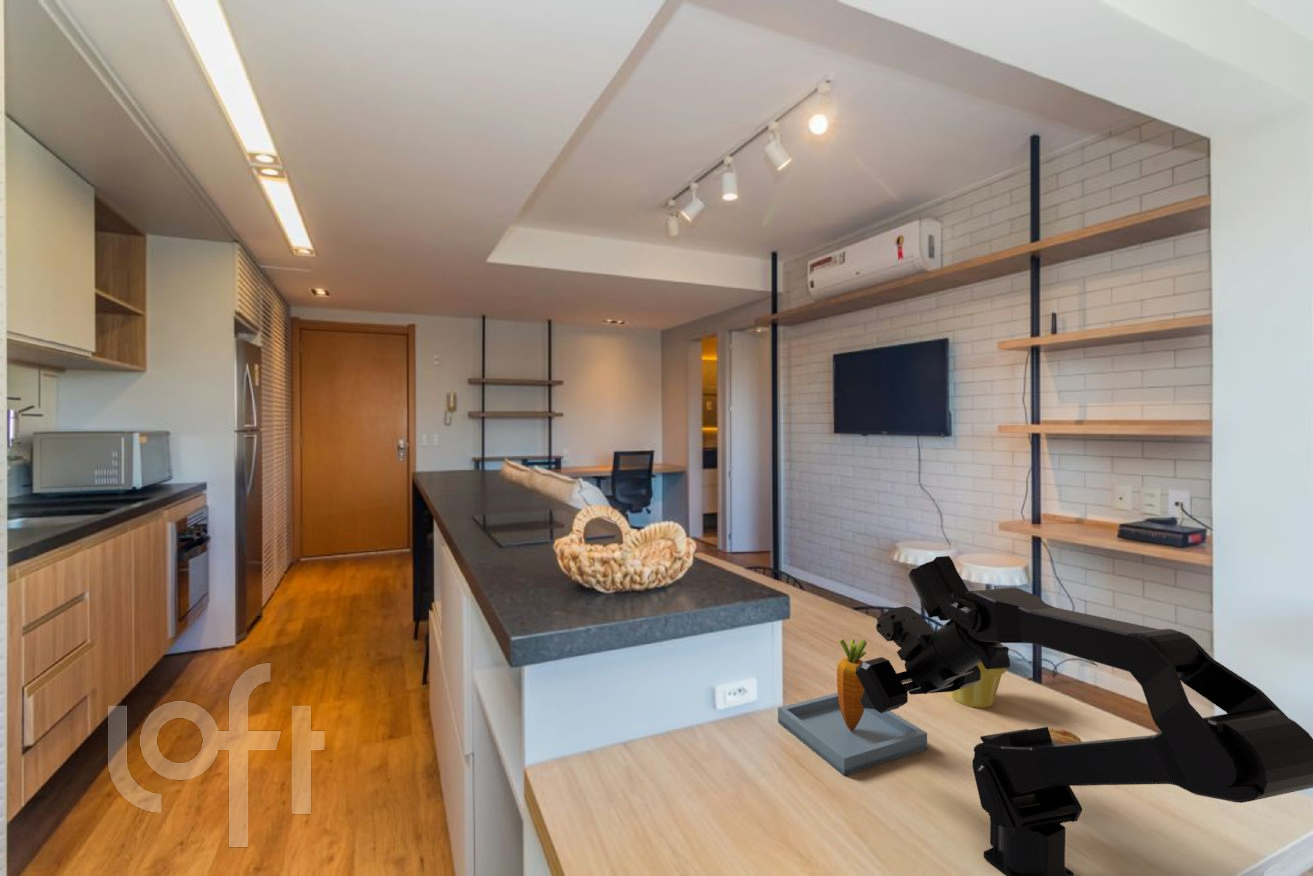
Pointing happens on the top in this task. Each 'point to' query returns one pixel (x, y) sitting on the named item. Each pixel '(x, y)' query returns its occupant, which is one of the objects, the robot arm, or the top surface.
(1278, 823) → the top surface
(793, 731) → the tray
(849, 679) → the carrot
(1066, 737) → the pastry
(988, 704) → the plant pot
